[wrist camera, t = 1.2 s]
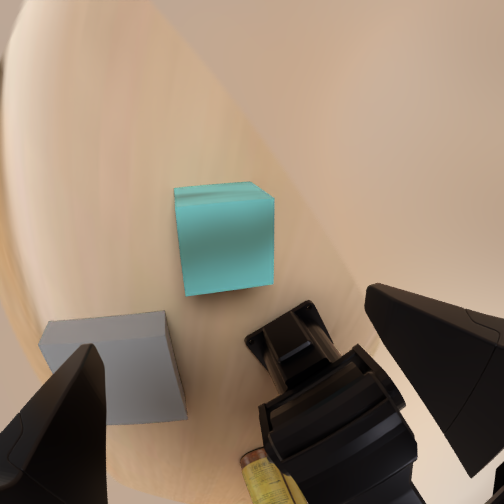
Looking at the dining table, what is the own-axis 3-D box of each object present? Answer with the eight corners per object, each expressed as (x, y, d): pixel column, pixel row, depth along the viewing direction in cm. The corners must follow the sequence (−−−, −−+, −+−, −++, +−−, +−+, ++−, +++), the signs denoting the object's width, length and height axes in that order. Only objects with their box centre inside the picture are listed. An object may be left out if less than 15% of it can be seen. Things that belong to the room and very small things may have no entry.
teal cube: (251, 250, 22) (273, 284, 17) (181, 258, 21) (185, 296, 16) (250, 181, 20) (274, 198, 15) (174, 187, 19) (175, 207, 14)
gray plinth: (184, 395, 26) (187, 419, 23) (88, 401, 24) (84, 425, 21) (164, 310, 22) (165, 335, 19) (48, 321, 20) (37, 344, 17)
